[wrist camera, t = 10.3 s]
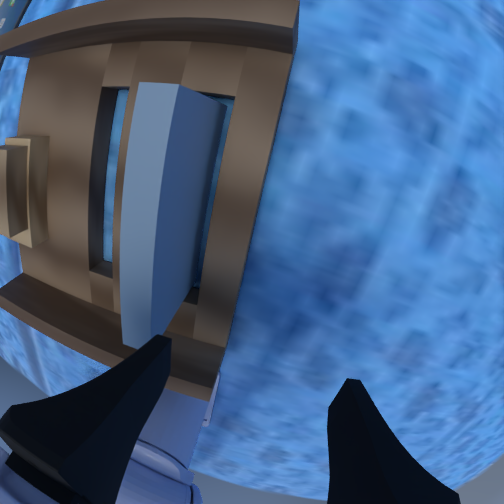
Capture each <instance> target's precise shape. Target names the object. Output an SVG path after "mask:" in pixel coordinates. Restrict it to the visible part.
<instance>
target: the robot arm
mask: <svg viewBox="0 0 504 504" xmlns="http://www.w3.org/2000/svg"><path fill="white" fill-rule="evenodd" d="M171 347H172V338H169V337H166V336H162V335H159V334H157V335H155V336H154V337H153V338H151V339H150V340H149V341H148V342H147V343H145V344H144V345H143V346H142V347H140V348H139V349H138V350H137V351H135V352H134V353H133V354H131V355H130V356H129V357H127V358H126V359H124V360H123V361H122V362H120V363H119V364H117V365H116V366H114V367H113V368H111V369H109V370H108V371H106V372H105V373H103V374H101V375H100V376H98V377H96V378H94V379H93V380H91V381H89V382H87V383H85V384H83V385H80V386H78V387H76V388H74V389H71V390H69V391H66V392H64V393H61V394H58V395H55V396H52V397H48V398H46V399H42V400H38V401H34V402H29V403H23V404H17V405H12V406H11V407H10V408H9V409H8V410H7V412H6V413H5V414H4V415H3V417H2V418H1V419H0V437H1V438H2V439H3V440H4V442H5V443H6V444H7V445H8V446H9V447H10V448H11V449H12V453H11V454H10V455H9V454H8V453H7V452H6V451H5V450H4V449H2V448H1V447H0V504H203V501H202V497H201V494H200V490H199V488H198V487H197V486H196V485H195V484H192V481H193V478H194V473H192V472H190V471H188V468H189V465H190V462H191V458H192V455H193V452H194V449H195V446H196V443H197V439H198V436H199V433H200V430H201V427H202V426H204V427H207V426H209V423H210V418H211V414H212V409H213V405H214V401H215V396H216V392H217V387H218V383H219V378H220V373H218V376H217V379H216V383H215V386H214V389H213V392H212V395H211V398H210V402H208V401H204V400H201V399H197V398H194V397H190V396H187V395H184V394H181V393H178V392H175V391H172V390H169V389H166V388H164V387H165V385H166V382H167V380H168V377H169V374H170V371H171ZM327 435H328V451H329V468H330V481H329V492H328V500H327V504H461V503H460V498H459V494H458V493H456V492H455V491H453V490H452V489H450V488H448V487H447V486H445V485H444V484H442V483H441V482H440V481H438V480H437V479H436V478H435V477H433V476H432V475H431V474H430V473H429V472H427V471H426V470H425V469H424V468H423V467H422V466H421V465H420V464H419V463H418V462H417V461H416V460H415V459H414V458H413V457H412V456H411V455H410V454H409V452H408V451H407V450H406V449H405V448H404V447H403V445H402V444H401V443H400V442H399V440H398V439H397V438H396V436H395V435H394V433H393V432H392V431H391V429H390V428H389V426H388V425H387V423H386V422H385V420H384V419H383V417H382V416H381V414H380V412H379V411H378V409H377V407H376V406H375V404H374V402H373V401H372V399H371V397H370V396H369V394H368V392H367V391H366V389H365V387H364V385H363V384H362V382H361V381H360V380H356V379H349V378H347V379H346V381H345V382H344V384H343V386H342V387H341V389H340V390H339V392H338V394H337V395H336V397H335V398H334V400H333V401H332V403H331V404H330V406H329V407H328V422H327Z"/></svg>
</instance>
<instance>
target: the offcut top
mask: <svg viewBox="0 0 504 504" xmlns="http://www.w3.org/2000/svg"><path fill="white" fill-rule="evenodd" d="M27 154H28V146H21V145H2V146H0V234H1V235H4V236H6V237H8V238H11V237H13V236H15V235H17V234H19V233H21V232H23V231H25V230H27V229H28V216H27Z"/></svg>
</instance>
